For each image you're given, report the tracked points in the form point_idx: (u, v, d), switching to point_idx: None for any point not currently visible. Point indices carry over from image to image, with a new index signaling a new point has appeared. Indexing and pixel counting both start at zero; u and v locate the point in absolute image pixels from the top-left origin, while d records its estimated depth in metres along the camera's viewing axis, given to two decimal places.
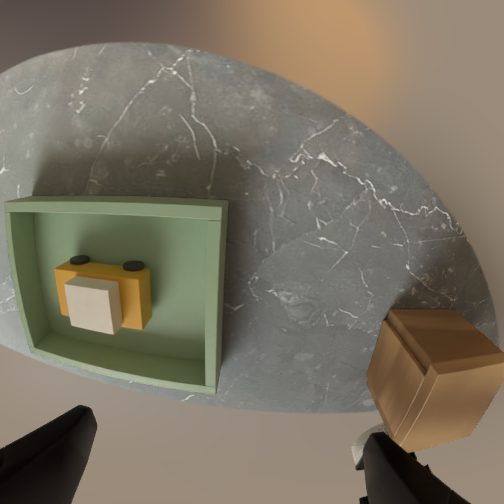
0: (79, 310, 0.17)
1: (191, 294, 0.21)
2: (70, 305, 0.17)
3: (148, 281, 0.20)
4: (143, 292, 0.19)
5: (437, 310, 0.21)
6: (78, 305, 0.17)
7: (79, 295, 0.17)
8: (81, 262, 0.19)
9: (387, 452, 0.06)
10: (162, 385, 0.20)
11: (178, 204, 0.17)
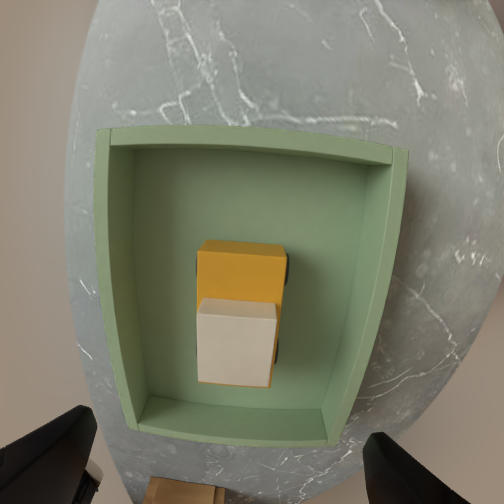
0: (230, 338, 0.12)
1: (234, 391, 0.18)
2: (237, 324, 0.12)
3: None
4: None
5: None
6: (239, 339, 0.12)
7: (257, 345, 0.12)
8: (283, 283, 0.14)
9: (387, 452, 0.06)
10: (118, 385, 0.14)
11: None
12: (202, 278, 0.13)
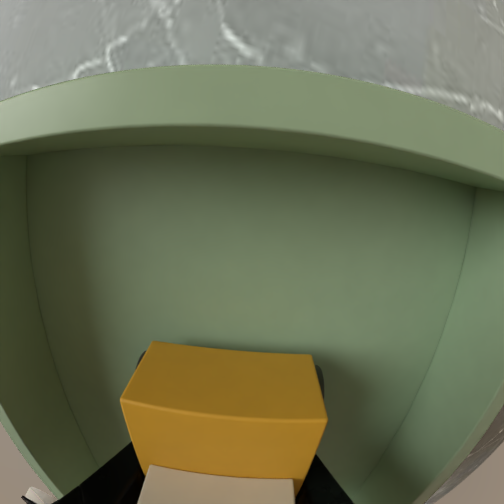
0: None
1: None
2: None
3: None
4: None
5: None
6: None
7: None
8: None
9: None
10: None
11: None
12: (140, 441, 0.05)
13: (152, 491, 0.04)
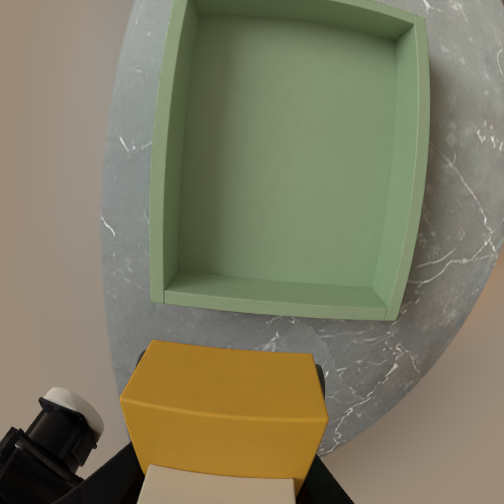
0: None
1: (280, 256, 0.17)
2: None
3: None
4: None
5: None
6: None
7: None
8: None
9: None
10: (151, 226, 0.14)
11: (406, 278, 0.14)
12: (140, 441, 0.05)
13: (152, 491, 0.04)
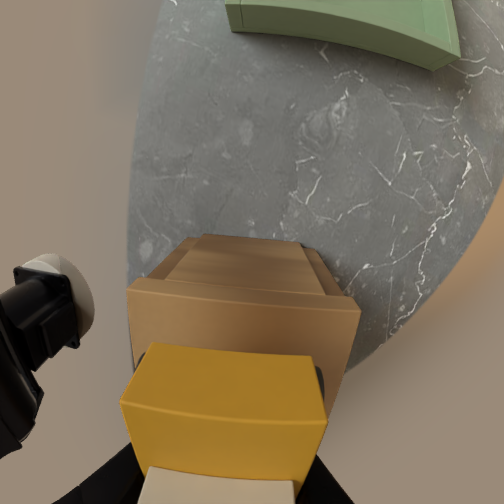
0: None
1: None
2: None
3: None
4: None
5: None
6: None
7: None
8: None
9: None
10: None
11: (455, 25, 0.10)
12: (140, 443, 0.05)
13: (152, 493, 0.04)
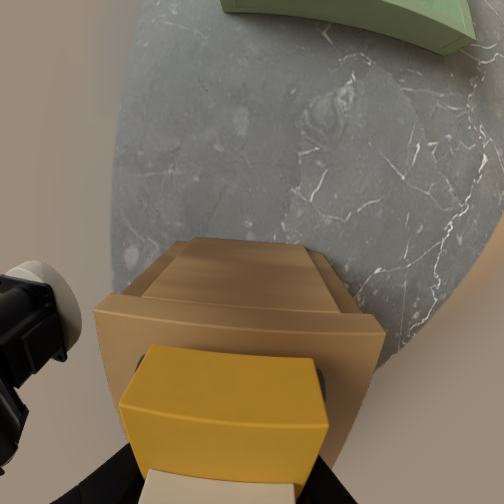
0: None
1: None
2: None
3: None
4: None
5: None
6: None
7: None
8: None
9: None
10: None
11: (467, 7, 0.08)
12: (140, 446, 0.05)
13: (152, 496, 0.04)
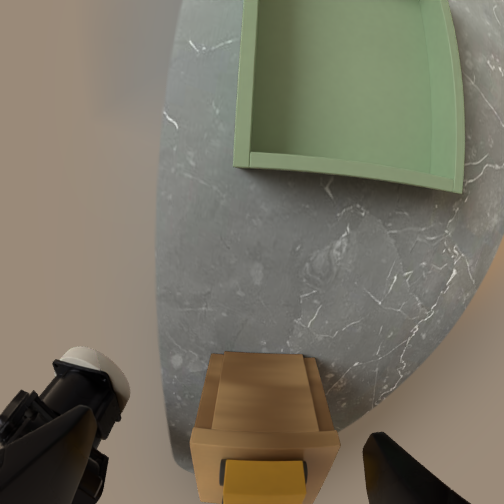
0: None
1: (350, 140, 0.17)
2: None
3: None
4: None
5: None
6: None
7: None
8: None
9: (387, 452, 0.06)
10: (241, 88, 0.13)
11: None
12: (228, 503, 0.10)
13: None
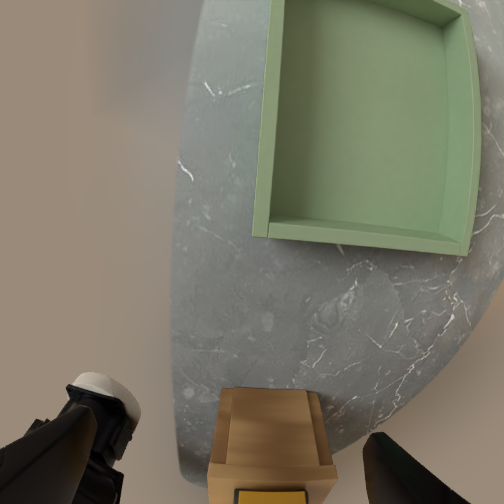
0: None
1: (365, 199, 0.17)
2: None
3: None
4: None
5: None
6: None
7: None
8: None
9: (387, 452, 0.06)
10: (261, 154, 0.14)
11: (473, 216, 0.14)
12: None
13: None
